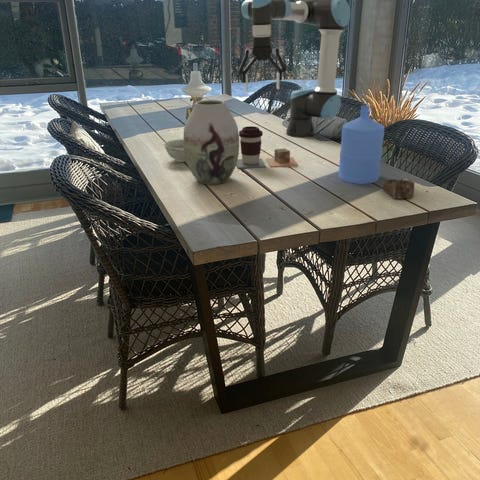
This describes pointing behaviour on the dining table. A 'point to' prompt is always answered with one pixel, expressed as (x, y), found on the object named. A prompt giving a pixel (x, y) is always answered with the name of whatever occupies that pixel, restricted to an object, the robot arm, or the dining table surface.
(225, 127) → the vase
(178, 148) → the bowl
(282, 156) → the walnut block
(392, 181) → the rock
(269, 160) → the terracotta tile
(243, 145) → the coffee cup
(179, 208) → the dining table surface
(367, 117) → the water jug
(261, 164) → the slate tile
